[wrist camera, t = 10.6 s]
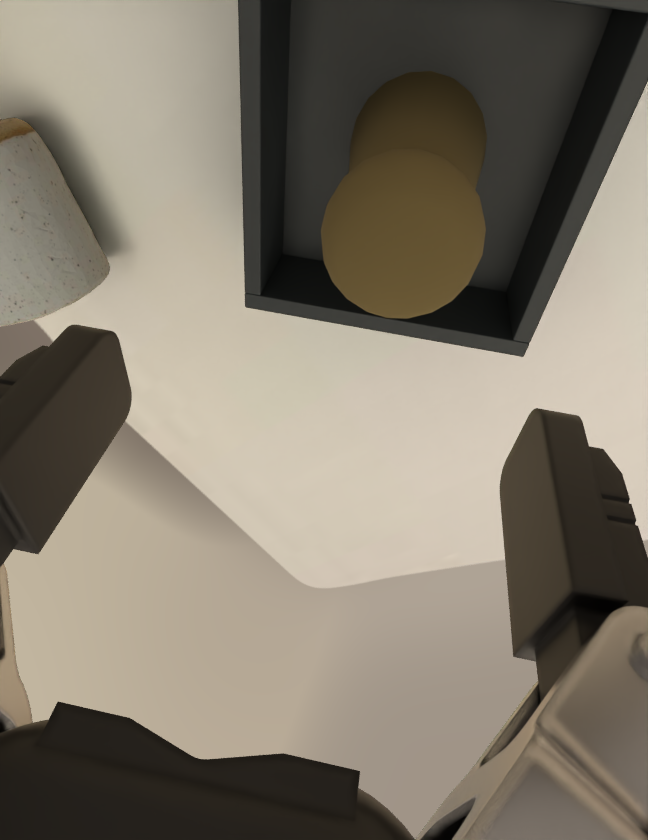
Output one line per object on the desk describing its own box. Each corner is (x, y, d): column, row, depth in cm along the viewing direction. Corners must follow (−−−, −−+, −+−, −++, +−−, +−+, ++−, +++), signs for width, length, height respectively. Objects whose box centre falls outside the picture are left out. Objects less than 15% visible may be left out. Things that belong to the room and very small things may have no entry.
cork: (505, 80, 21) (536, 172, 13) (466, 225, 25) (470, 361, 17) (358, 61, 21) (302, 140, 14) (343, 207, 26) (294, 331, 18)
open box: (276, -75, 19) (235, -76, 16) (646, -29, 18) (692, -17, 15) (271, 259, 29) (244, 307, 25) (514, 301, 28) (523, 357, 24)
